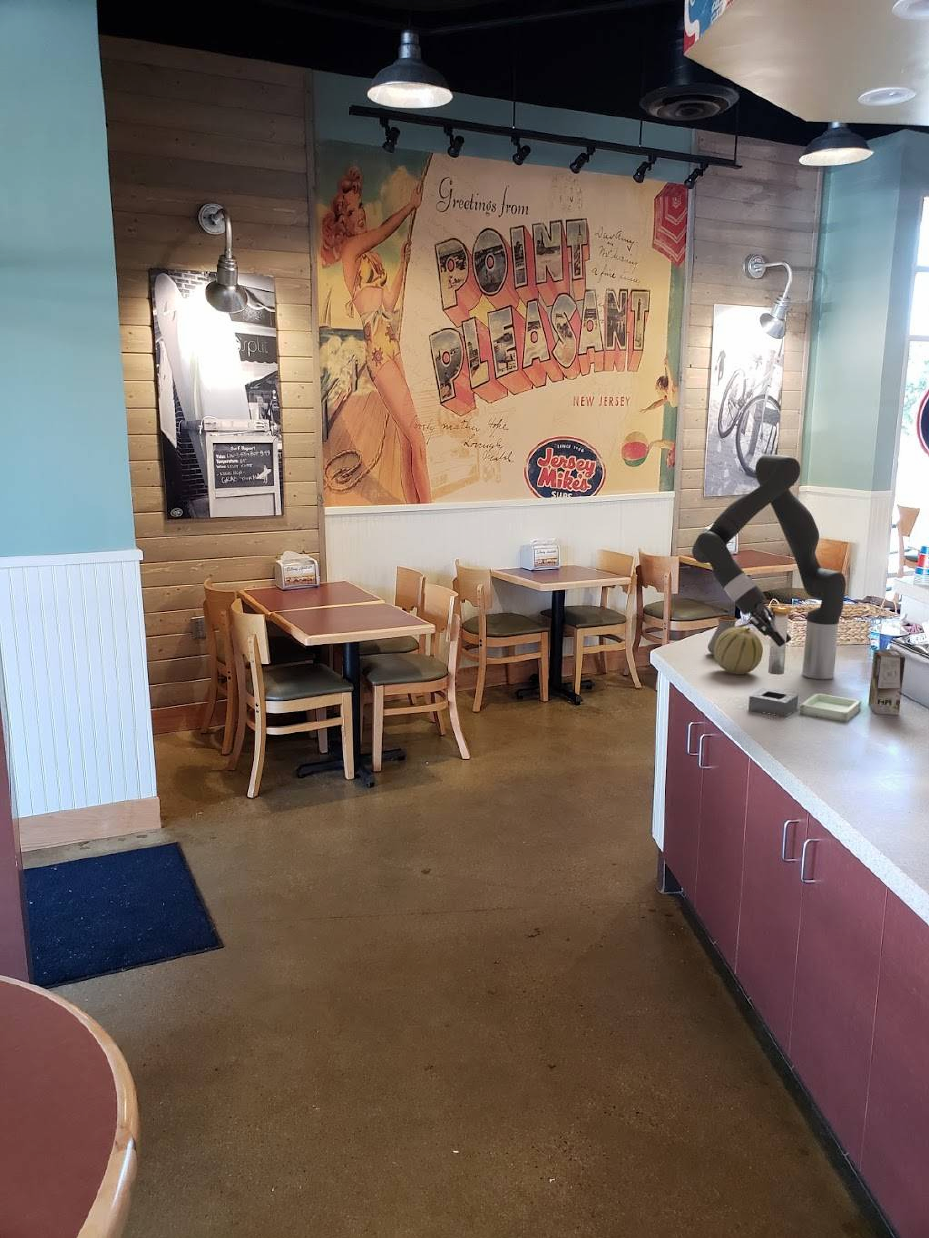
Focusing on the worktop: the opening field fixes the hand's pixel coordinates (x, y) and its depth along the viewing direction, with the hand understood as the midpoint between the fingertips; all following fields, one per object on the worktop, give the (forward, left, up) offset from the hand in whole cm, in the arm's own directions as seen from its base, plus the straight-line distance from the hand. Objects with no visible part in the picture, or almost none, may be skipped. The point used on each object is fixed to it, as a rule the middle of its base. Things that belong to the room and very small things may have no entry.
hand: (785, 642), depth 255 cm
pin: (0, -2, -9) cm, 9 cm away
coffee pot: (-51, -31, -19) cm, 63 cm away
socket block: (0, -2, -19) cm, 19 cm away
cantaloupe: (-30, -24, -19) cm, 43 cm away
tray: (-8, +11, -19) cm, 23 cm away
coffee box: (-19, +22, -19) cm, 35 cm away
